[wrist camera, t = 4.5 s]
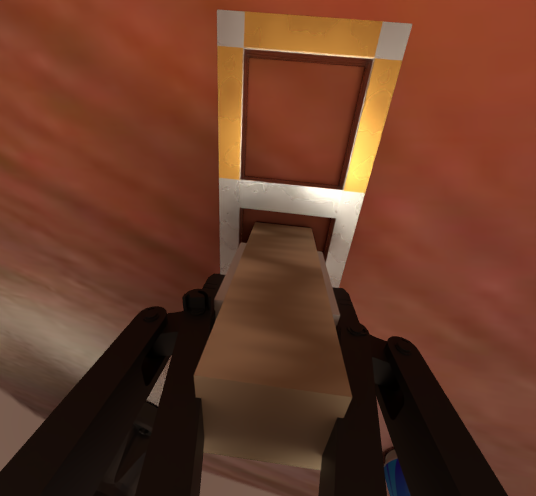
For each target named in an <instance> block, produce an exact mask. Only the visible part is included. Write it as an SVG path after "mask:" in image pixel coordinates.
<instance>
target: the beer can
mask: <svg viewBox="0 0 536 496" xmlns="http://www.w3.org/2000/svg"><path fill="white" fill-rule="evenodd" d="M384 473H385V479H386V483H387V487H388V490H389V494H390V496H411V495H410V492H409V489H408V486H407V484H406V481H405V478H404V475H403V472H402V469H401V466H400V463H399V460H398V458H397V455H396V452H395V449H394V450H392V451H390V452H389V453H388V454H387V455H386V458H385V465H384Z"/></svg>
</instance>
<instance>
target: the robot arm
mask: <svg viewBox="0 0 536 496" xmlns="http://www.w3.org/2000/svg"><path fill="white" fill-rule="evenodd" d="M246 244H247V243H240V245H239V247H238V249H237V251H236V254H235V256H234V258H233V260H232V262H231V264H230V267H229V269H228V271H227V273H226V275H223V274H213V275H211V276H210V277H209V278H208V279H207V281H206V283H205V284H204V286H203V288H202V289H194V290H191V291H188V292H187V293H186V294H184V296H183V308H184V311H181V312H176V313H168V314H167V313H166V310H165V309H164V308H162V307H149V308H146V309H144V310H142V311H141V312H140V313H139V314H138V315H137V316H136V317H135V318H134V319H133V320H132V321H131V323H130V324H129V325H128V326H127V327H126V328H125V329H124V331H123V332H122V333H121V334H120V335H119V336H118V337H117V339H116V340H115V341H114V342H113V343H112V344H111V345H110V347H109V348H108V349H107V350H106V351H105V352H104V354H103V355H102V356H101V357H100V358H99V359H98V360H97V362H96V363H95V364H94V365H93V366H92V367H91V368H90V370H89V371H88V372H87V373H86V374H85V375H84V376H83V378H82V379H81V380H80V381H79V382H78V383H77V384H76V386H75V387H74V388H73V389H72V390H71V391H70V392H69V394H68V395H67V396H66V397H65V398H64V399H63V400H62V402H61V403H60V404H59V405H58V406H57V407H56V408H55V410H54V411H53V412H52V413H51V414H50V415H49V417H48V418H47V419H46V420H45V421H44V422H43V423H42V425H41V426H40V427H39V428H38V429H37V430H36V432H35V433H34V434H33V435H32V436H31V437H30V438H29V439H28V441H27V442H26V443H25V444H24V445H23V446H22V448H21V449H20V450H19V451H18V452H17V453H16V454H15V455H14V457H13V458H12V459H11V460H10V461H9V462H8V464H7V465H6V466H5V467H4V468H3V469H2V470H1V471H0V496H199V494H200V483H201V472H202V461H203V449H204V426H203V413H202V400H201V398H197V397H196V394H195V384H194V373H195V371H196V368H197V366H198V363H199V361H200V358H201V356H202V353H203V351H204V348H205V346H206V343H207V341H208V338H209V336H210V333H211V331H212V328H213V326H214V323H215V321H216V318H217V316H218V314H219V311H220V309H221V306H222V304H223V301H224V299H225V296H226V294H227V291H228V289H229V286H230V284H231V281H232V279H233V276H234V274H235V271H236V269H237V266H238V264H239V261H240V259H241V256H242V254H243V251H244V249H245V246H246ZM317 253H318V257H319V261H320V265H321V269H322V273H323V278H324V282H325V286H326V290H327V294H328V298H329V302H330V307H331V311H332V315H333V319H334V323H335V327H336V332H337V336H338V340H339V344H340V348H341V352H342V356H343V361H344V365H345V369H346V373H347V377H348V381H349V385H350V390H351V394H352V399H351V402H350V404H349V406H348V409H347V411H346V414H345V416H344V418H339V417H337V420H336V422H335V425H334V427H333V429H332V432H331V434H330V437H329V439H328V442H327V444H326V447H325V449H324V452H323V454H322V461H321V473H320V484H319V496H387V492H386V483H385V473H384V464H383V455H382V446H381V436H380V427H379V418H378V409H377V400H378V402H379V405H380V408H381V411H382V414H383V417H384V420H385V423H386V426H387V429H388V431H389V434H390V437H391V440H392V443H393V446H394V449H395V452H396V455H397V458H398V460H399V463H400V466H401V469H402V472H403V475H404V478H405V481H406V484H407V486H408V489H409V492H410V495H411V496H508V495H507V493H506V492H505V490H504V488H503V487H502V485H501V484H500V482H499V480H498V479H497V477H496V475H495V474H494V472H493V471H492V469H491V467H490V466H489V464H488V462H487V461H486V459H485V458H484V456H483V454H482V453H481V451H480V449H479V448H478V446H477V445H476V443H475V441H474V440H473V438H472V436H471V435H470V433H469V432H468V430H467V428H466V427H465V425H464V423H463V422H462V420H461V419H460V417H459V415H458V414H457V412H456V411H455V409H454V407H453V406H452V404H451V402H450V401H449V399H448V398H447V396H446V394H445V393H444V391H443V389H442V388H441V386H440V385H439V383H438V381H437V380H436V378H435V376H434V375H433V373H432V372H431V370H430V368H429V367H428V365H427V363H426V362H425V360H424V359H423V357H422V355H421V354H420V352H419V350H418V349H417V348H416V347H415V345H414V344H412V343H411V342H410V341H408V340H406V339H404V338H402V337H398V336H392V337H390V338H389V339H388V341H384V340H382V339H379V338H376V337H374V336H372V335H370V334H369V332H368V330H367V329H366V328H365V326H363V325H362V324H360V323H359V320H358V318H357V315H356V312H355V310H354V307H353V304H352V302H351V299H350V296H349V294H348V293H347V292H346V291H345V290H344V289H343V288H335V287H332V285H331V281H330V278H329V274H328V271H327V267H326V263H325V260H324V256H323V253H322V252H319V251H317ZM171 355H172V357H171V361H170V365H169V369H168V372H167V376H166V380H165V384H164V387H163V391H162V395H161V399H160V402H159V406H158V408H156V407H155V406H153V405H151V404H149V403H147V402H145V401H146V400H147V398H148V396H149V394H150V392H151V391H152V389H153V387H154V385H155V383H156V382H157V380H158V378H159V376H160V374H161V373H162V371H163V369H164V367H165V365H166V364H167V362H168V360H169V358H170V356H171ZM376 397H377V400H376Z"/></svg>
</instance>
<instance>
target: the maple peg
mask: <svg viewBox="0 0 536 496" xmlns="http://www.w3.org/2000/svg"><path fill="white" fill-rule="evenodd" d="M194 384H195V394H196V397H197V398H201V400H202V413H203V426H204V449H203V452H204V453H211V454H217V455H224V456H230V457H237V458H244V459H250V460H257V461H263V462H270V463H276V464H283V465H290V466H296V467H303V468H309V469H316V470H321V461H322V454H323V452H324V449H325V447H326V444H327V442H328V439H329V437H330V434H331V432H332V429H333V427H334V425H335V422H336V420H337V417H339V418H344V416H345V414H346V411H347V409H348V406H349V404H350V402H351V399H352V394H351V390H350V385H349V381H348V377H347V373H346V369H345V365H344V361H343V356H342V352H341V348H340V344H339V340H338V336H337V332H336V327H335V323H334V319H333V315H332V311H331V307H330V302H329V298H328V294H327V290H326V286H325V282H324V278H323V273H322V269H321V265H320V261H319V257H318V253H317V249H316V244H315V240H314V236H313V232H312V228H306V227H297V226H288V225H279V224H270V223H261V222H255V224H254V226H253V229H252V231H251V234H250V236H249V239H248V241H247V244H246V246H245V249H244V251H243V254H242V256H241V259H240V261H239V264H238V266H237V269H236V271H235V274H234V276H233V279H232V281H231V284H230V286H229V289H228V291H227V294H226V296H225V299H224V301H223V304H222V306H221V309H220V311H219V314H218V316H217V318H216V321H215V323H214V326H213V328H212V331H211V333H210V336H209V338H208V341H207V343H206V346H205V348H204V351H203V353H202V356H201V358H200V361H199V363H198V366H197V368H196V371H195V373H194Z"/></svg>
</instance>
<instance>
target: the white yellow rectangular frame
mask: <svg viewBox="0 0 536 496" xmlns="http://www.w3.org/2000/svg"><path fill="white" fill-rule="evenodd" d="M411 27H412V24H407V23H393V22H381V21H368V20H354V19H340V18H326V17H313V16H299V15H285V14H271V13H258V12H242V11H228V10H217V50H218V133H219V215H220V274H223V275H226V273H227V271H228V269H229V267H230V264H231V262H232V260H233V258H234V256H235V254H236V251H237V249H238V247H239V245H240V243H242V229H243V208H247V209H256V210H265V211H274V212H283V213H292V214H301V215H310V216H319V217H328V218H331V222H330V226H329V231H328V235H327V240H326V244H325V249H324V253H323V256H324V260H325V263H326V267H327V271H328V274H329V278H330V281H331V285H332V287H335V288H339V284H340V281H341V277H342V274H343V270H344V266H345V263H346V259H347V256H348V252H349V249H350V245H351V241H352V238H353V234H354V231H355V227H356V224H357V220H358V216H359V213H360V209H361V206H362V202H363V199H364V195H365V192H366V188H367V184H368V181H369V177H370V174H371V170H372V167H373V163H374V159H375V156H376V152H377V149H378V145H379V142H380V138H381V134H382V131H383V127H384V124H385V120H386V117H387V113H388V109H389V106H390V102H391V99H392V95H393V91H394V88H395V84H396V81H397V77H398V74H399V70H400V66H401V63H402V59H403V55H404V52H405V48H406V45H407V41H408V38H409V34H410V30H411ZM249 57H251V58H263V59H275V60H288V61H300V62H312V63H324V64H337V65H349V66H361V67H365V70H364V74H363V79H362V83H361V88H360V92H359V97H358V101H357V105H356V110H355V114H354V119H353V123H352V128H351V132H350V137H349V141H348V146H347V150H346V155H345V159H344V164H343V168H342V173H341V177H340V182H339V186H334V185H325V184H315V183H306V182H296V181H287V180H277V179H268V178H258V177H249V176H244V175H245V148H246V121H247V94H248V67H249Z"/></svg>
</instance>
